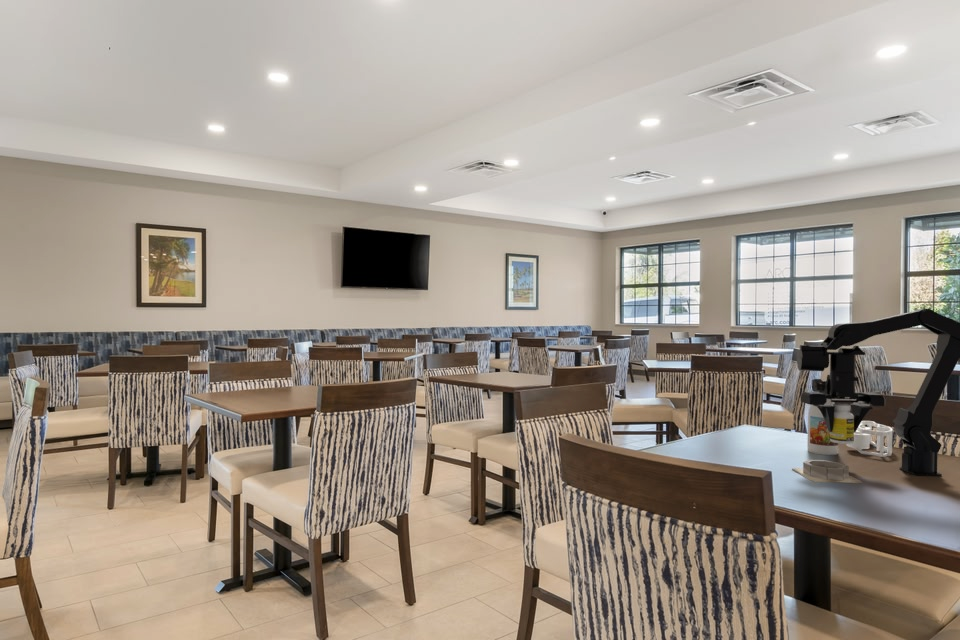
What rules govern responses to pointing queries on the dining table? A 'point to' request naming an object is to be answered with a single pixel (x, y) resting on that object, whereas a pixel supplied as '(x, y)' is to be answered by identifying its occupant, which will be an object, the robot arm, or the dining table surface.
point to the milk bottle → (819, 434)
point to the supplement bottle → (842, 424)
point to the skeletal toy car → (865, 438)
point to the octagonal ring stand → (826, 471)
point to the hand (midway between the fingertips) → (841, 431)
